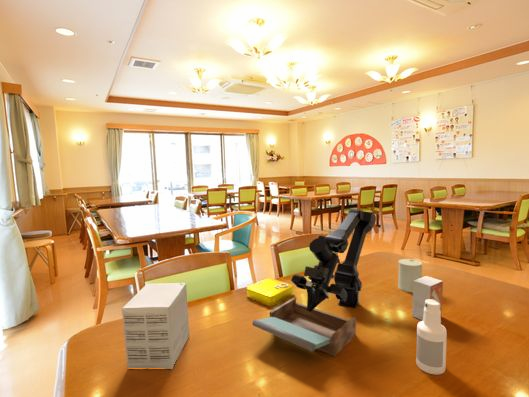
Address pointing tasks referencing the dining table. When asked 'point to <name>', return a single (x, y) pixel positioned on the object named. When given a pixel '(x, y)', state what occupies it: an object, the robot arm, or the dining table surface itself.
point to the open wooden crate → (318, 324)
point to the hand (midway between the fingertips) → (308, 311)
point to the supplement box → (156, 325)
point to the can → (409, 273)
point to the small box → (426, 294)
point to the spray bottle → (431, 340)
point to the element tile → (270, 291)
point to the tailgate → (292, 333)
